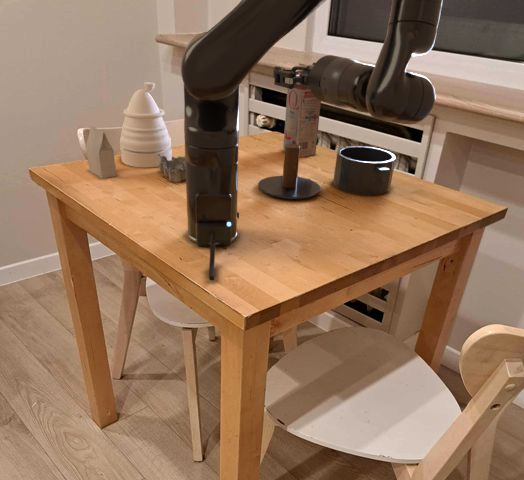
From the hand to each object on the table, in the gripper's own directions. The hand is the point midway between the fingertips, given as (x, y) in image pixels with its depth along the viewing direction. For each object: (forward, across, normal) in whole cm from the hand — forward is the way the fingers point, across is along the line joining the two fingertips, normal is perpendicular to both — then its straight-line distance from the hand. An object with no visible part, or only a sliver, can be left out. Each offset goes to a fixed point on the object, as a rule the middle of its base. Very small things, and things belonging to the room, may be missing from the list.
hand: (294, 70), depth 103 cm
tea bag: (+30, +36, +23) cm, 52 cm away
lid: (+5, -2, +25) cm, 26 cm away
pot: (+2, -20, +27) cm, 34 cm away
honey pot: (+37, +23, +23) cm, 49 cm away
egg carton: (+23, +19, +24) cm, 38 cm away
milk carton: (+32, -19, +26) cm, 45 cm away
